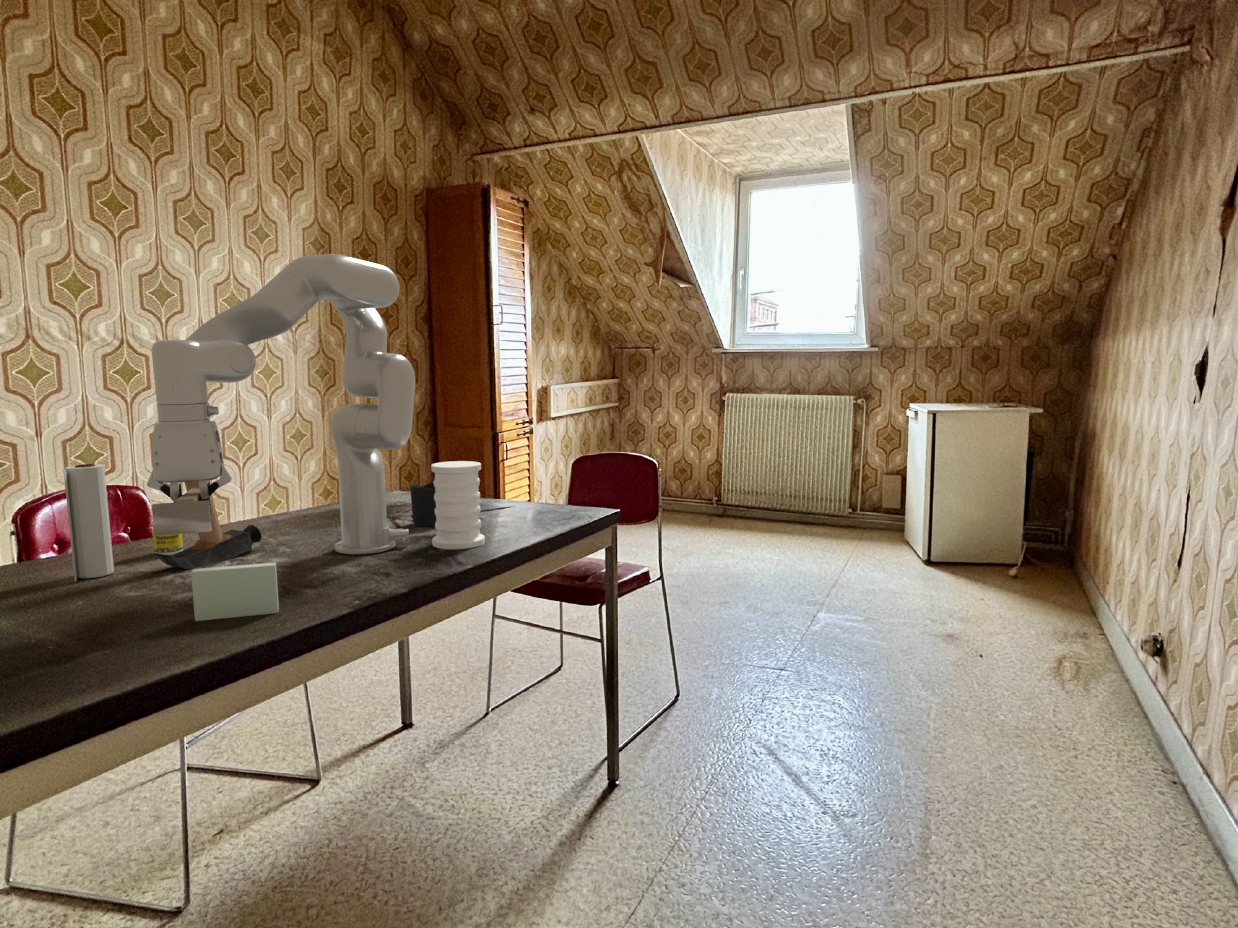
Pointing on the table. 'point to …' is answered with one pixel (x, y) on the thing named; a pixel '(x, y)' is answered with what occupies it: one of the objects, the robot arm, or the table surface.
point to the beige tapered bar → (182, 515)
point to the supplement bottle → (167, 543)
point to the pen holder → (423, 505)
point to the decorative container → (457, 505)
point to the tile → (235, 591)
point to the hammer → (213, 543)
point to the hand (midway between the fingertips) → (193, 520)
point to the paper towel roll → (88, 520)
